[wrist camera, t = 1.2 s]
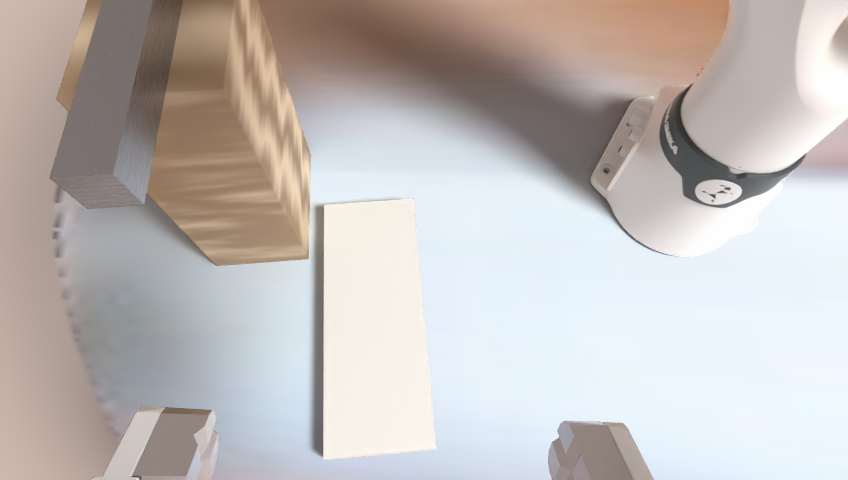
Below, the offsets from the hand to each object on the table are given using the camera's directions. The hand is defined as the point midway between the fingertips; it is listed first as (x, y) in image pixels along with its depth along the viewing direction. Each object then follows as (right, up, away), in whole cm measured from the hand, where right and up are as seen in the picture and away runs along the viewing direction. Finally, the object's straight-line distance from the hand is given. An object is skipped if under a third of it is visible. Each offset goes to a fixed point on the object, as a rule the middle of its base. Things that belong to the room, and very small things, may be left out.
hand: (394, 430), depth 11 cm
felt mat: (-4, -4, +39) cm, 39 cm away
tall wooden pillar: (-18, +8, +45) cm, 49 cm away
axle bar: (-17, +16, +20) cm, 31 cm away
